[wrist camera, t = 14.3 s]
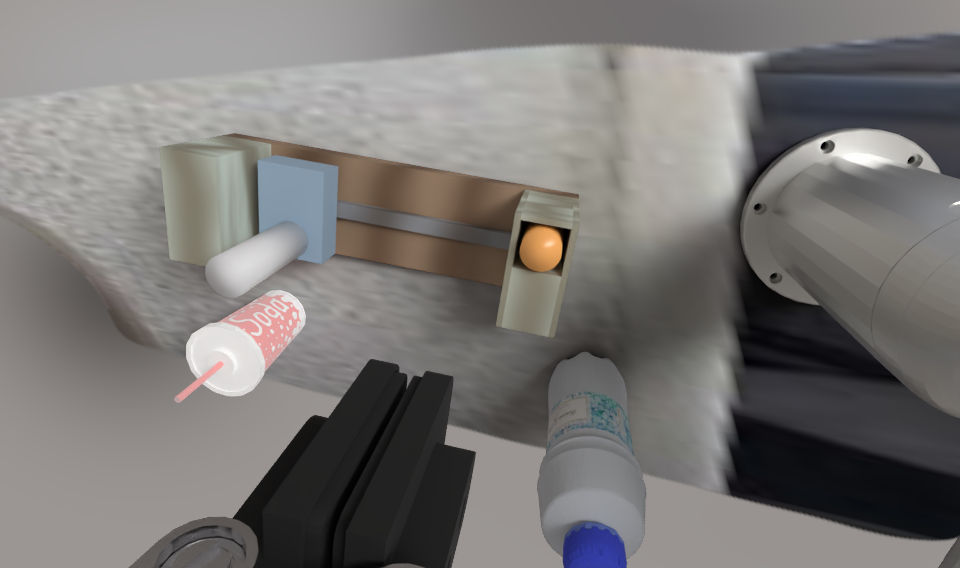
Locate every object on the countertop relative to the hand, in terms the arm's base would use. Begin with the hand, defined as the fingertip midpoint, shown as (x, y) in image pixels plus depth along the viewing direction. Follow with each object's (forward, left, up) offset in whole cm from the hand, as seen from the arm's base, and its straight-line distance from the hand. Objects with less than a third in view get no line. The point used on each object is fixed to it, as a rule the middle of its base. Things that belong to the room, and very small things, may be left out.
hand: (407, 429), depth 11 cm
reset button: (-2, +4, -27) cm, 27 cm away
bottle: (-8, +17, -32) cm, 37 cm away
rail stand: (+10, +6, -32) cm, 34 cm away
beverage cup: (+20, +17, -32) cm, 42 cm away
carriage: (+17, +5, -29) cm, 34 cm away
